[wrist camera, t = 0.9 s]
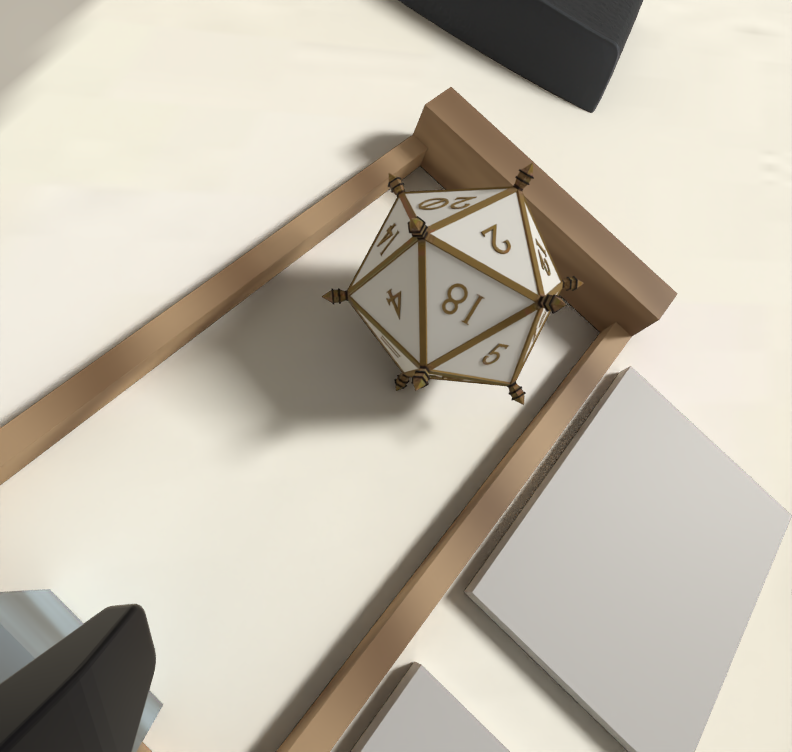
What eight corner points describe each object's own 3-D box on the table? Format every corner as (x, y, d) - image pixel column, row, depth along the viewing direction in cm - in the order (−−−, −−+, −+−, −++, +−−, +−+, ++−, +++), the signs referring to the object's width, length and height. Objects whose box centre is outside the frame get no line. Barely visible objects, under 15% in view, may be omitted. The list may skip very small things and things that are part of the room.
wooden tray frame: (190, 920, 15) (169, 1091, 10) (-156, 561, 15) (-339, 553, 11) (633, 322, 27) (722, 264, 22) (429, 134, 28) (472, 37, 23)
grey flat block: (454, 1267, 14) (576, 1644, 9) (184, 985, 14) (158, 1197, 9) (776, 517, 25) (907, 502, 20) (619, 372, 26) (711, 322, 21)
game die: (365, 379, 26) (235, 297, 17) (443, 229, 27) (359, 74, 18) (535, 463, 22) (482, 413, 13) (623, 283, 23) (629, 119, 14)
